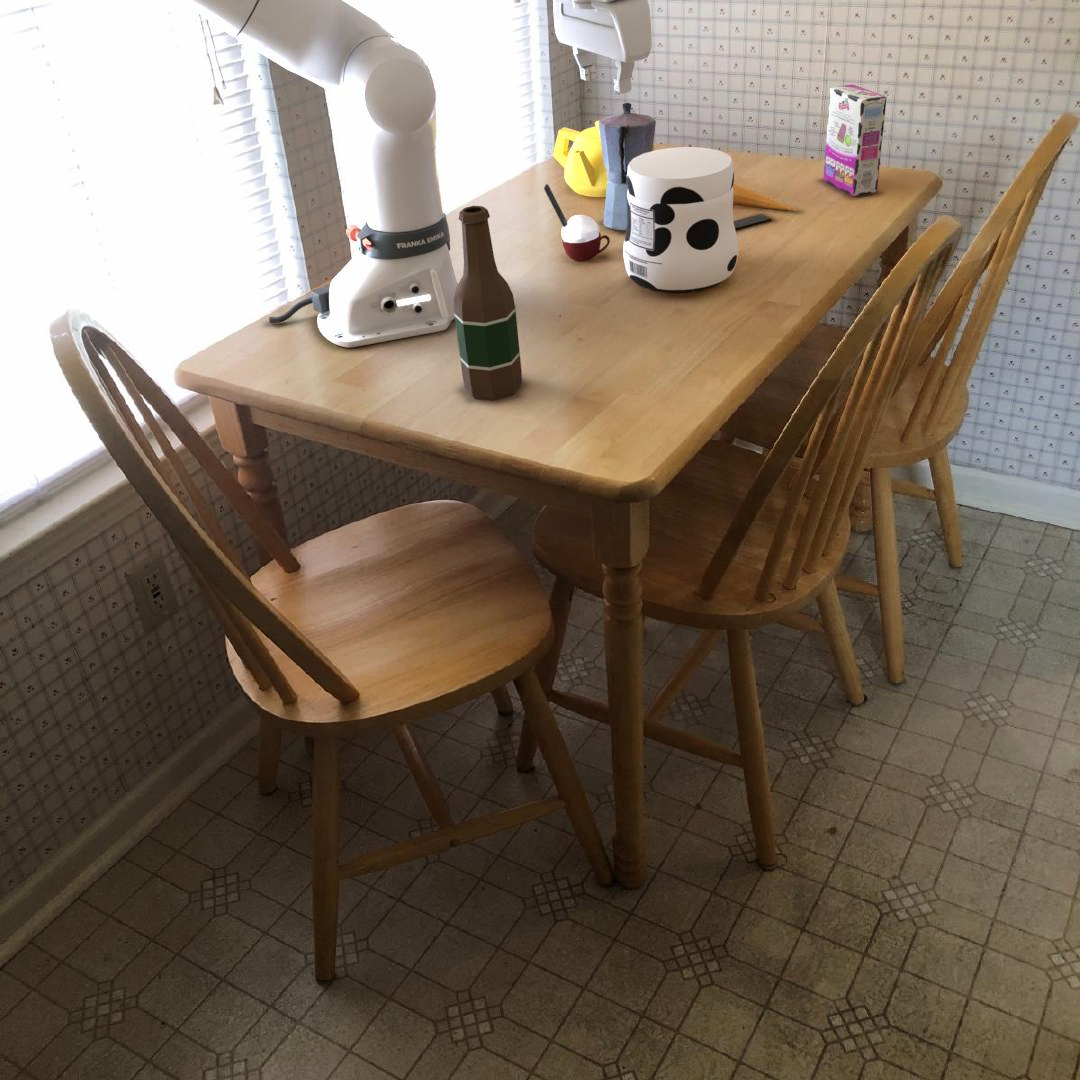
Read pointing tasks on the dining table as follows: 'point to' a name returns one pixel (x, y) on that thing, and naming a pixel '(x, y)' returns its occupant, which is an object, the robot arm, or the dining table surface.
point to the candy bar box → (854, 139)
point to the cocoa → (578, 233)
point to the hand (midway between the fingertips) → (605, 85)
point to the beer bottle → (485, 315)
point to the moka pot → (622, 158)
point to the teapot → (583, 160)
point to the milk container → (680, 220)
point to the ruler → (751, 221)
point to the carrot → (755, 199)
